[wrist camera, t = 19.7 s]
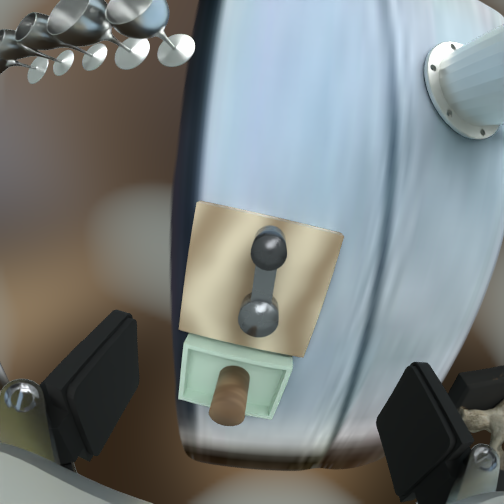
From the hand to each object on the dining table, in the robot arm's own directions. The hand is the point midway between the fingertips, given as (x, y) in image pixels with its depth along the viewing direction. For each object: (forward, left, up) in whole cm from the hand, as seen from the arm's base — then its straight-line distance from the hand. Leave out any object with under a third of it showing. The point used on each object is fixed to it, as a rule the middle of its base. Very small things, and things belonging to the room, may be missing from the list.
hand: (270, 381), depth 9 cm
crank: (0, +4, -20) cm, 21 cm away
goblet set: (+26, -17, -23) cm, 39 cm away
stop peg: (0, +20, -22) cm, 29 cm away
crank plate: (+1, +6, -22) cm, 23 cm away
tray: (+1, +20, -22) cm, 30 cm away
